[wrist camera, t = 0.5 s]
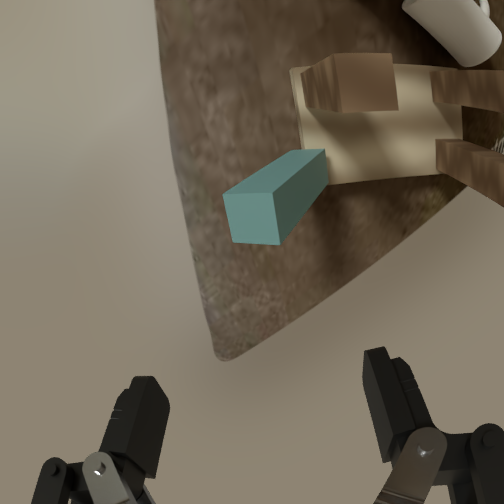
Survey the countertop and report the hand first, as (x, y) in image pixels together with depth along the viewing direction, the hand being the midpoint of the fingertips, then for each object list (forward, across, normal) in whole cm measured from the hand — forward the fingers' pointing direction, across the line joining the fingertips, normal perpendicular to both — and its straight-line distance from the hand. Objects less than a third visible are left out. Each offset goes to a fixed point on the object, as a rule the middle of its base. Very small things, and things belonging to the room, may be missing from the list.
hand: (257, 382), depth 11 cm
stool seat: (+28, -16, -5) cm, 32 cm away
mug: (+28, -28, -19) cm, 44 cm away
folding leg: (+25, -6, -2) cm, 26 cm away
